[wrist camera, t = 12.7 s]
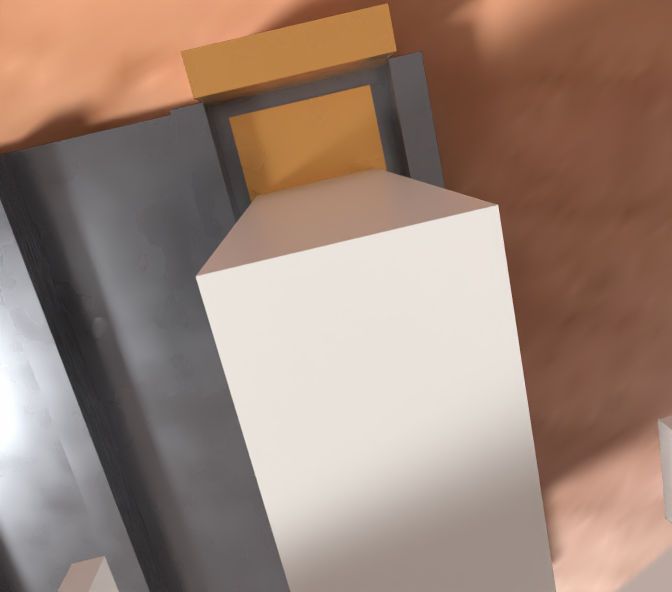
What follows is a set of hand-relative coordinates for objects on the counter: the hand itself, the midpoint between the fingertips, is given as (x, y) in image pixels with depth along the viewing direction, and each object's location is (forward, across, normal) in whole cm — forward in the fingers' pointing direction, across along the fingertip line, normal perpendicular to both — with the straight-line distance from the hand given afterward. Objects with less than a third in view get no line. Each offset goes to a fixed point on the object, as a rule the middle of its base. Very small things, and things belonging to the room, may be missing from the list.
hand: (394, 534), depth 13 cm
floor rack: (+9, -6, 0) cm, 11 cm away
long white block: (+8, 0, 0) cm, 8 cm away
